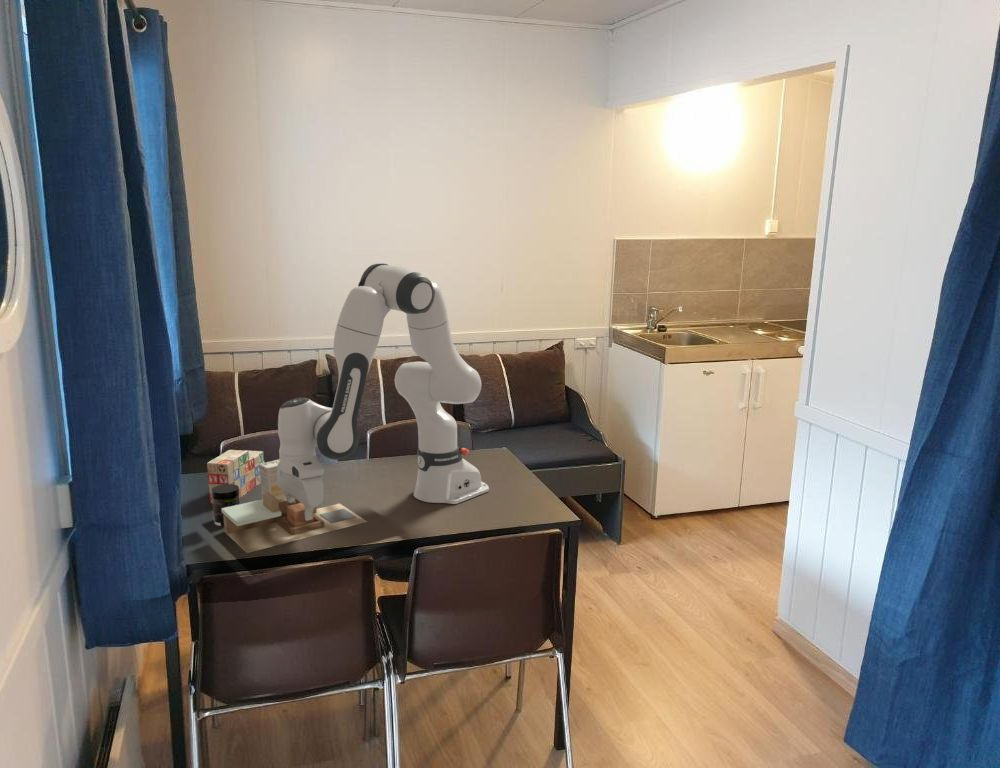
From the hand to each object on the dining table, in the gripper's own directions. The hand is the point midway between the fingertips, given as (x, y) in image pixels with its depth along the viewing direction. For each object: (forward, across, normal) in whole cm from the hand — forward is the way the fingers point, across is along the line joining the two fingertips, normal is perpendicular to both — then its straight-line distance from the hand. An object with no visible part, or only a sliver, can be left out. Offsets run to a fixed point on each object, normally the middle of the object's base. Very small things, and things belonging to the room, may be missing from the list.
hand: (299, 513), depth 200 cm
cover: (-2, -2, -12) cm, 12 cm away
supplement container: (+5, -14, -14) cm, 21 cm away
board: (+5, 0, -1) cm, 5 cm away
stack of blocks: (+5, -38, -2) cm, 38 cm away
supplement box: (+5, -19, +2) cm, 20 cm away
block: (+3, 0, 0) cm, 3 cm away
